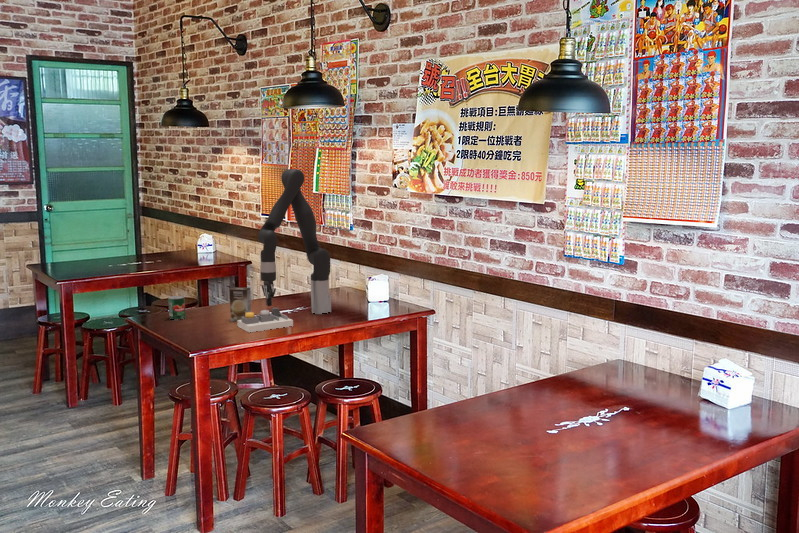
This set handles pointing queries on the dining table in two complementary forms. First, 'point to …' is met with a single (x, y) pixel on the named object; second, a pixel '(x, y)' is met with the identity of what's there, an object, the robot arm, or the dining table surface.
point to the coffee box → (239, 302)
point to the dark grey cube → (275, 311)
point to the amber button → (249, 315)
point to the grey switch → (265, 313)
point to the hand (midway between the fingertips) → (269, 305)
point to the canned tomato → (176, 307)
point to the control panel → (264, 322)
